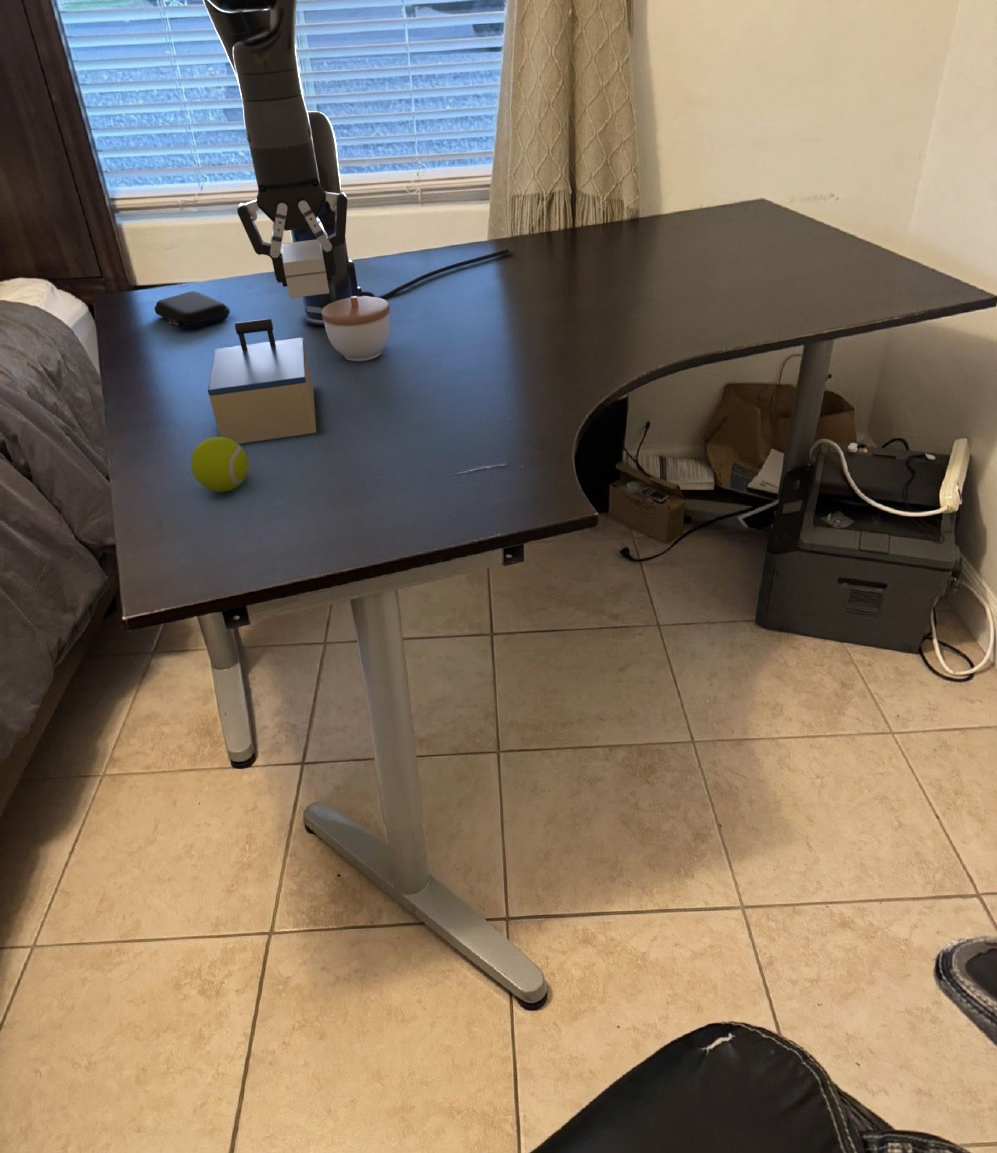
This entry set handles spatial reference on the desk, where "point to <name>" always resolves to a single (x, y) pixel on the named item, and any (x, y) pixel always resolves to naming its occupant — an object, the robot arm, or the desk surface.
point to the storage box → (266, 412)
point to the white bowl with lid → (358, 326)
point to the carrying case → (192, 310)
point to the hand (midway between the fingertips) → (307, 281)
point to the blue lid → (257, 362)
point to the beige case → (304, 268)
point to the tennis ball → (219, 464)
